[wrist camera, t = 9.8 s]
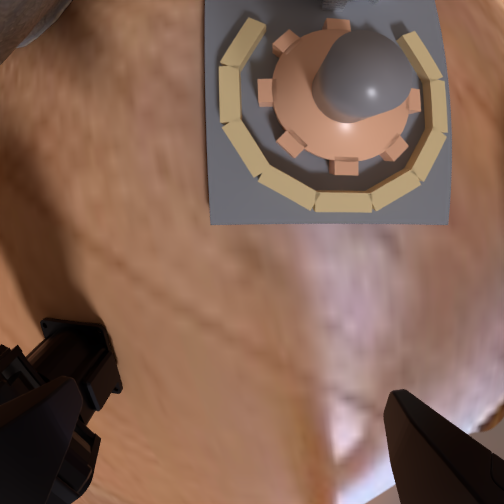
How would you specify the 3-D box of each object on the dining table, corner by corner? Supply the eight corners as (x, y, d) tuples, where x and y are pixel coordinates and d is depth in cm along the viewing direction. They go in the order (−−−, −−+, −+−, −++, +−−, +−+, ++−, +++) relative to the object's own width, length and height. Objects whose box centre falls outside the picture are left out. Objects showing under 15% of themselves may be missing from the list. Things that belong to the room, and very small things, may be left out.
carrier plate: (214, 220, 18) (207, 229, 16) (210, -72, 12) (205, -89, 10) (438, 220, 18) (456, 228, 15) (408, -58, 11) (419, -72, 9)
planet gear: (261, 173, 16) (256, 183, 11) (256, 27, 14) (248, -28, 8) (410, 176, 16) (468, 189, 10) (402, 38, 13) (451, -1, 8)
